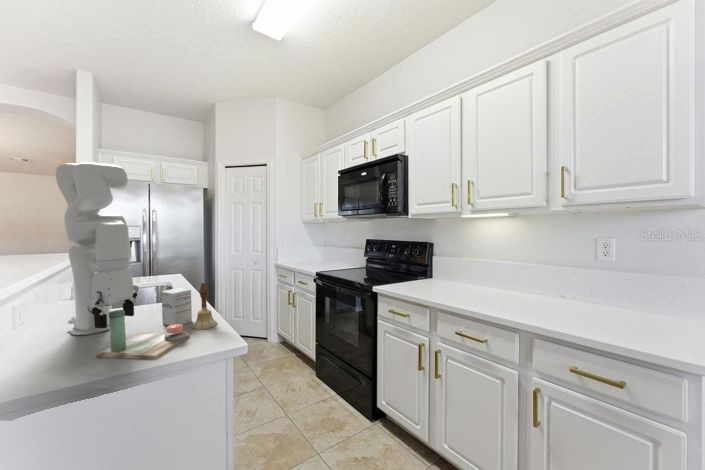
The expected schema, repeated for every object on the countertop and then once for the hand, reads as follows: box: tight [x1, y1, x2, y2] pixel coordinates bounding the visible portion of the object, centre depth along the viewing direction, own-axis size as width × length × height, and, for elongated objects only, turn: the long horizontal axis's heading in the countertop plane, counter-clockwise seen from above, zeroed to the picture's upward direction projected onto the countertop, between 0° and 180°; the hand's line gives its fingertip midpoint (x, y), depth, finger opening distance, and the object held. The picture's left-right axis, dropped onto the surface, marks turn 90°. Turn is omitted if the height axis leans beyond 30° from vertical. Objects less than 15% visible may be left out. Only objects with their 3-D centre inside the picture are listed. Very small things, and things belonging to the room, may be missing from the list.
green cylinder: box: [108, 309, 127, 352], centre depth 90 cm, size 4×4×11 cm
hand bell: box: [192, 282, 218, 330], centre depth 113 cm, size 8×8×16 cm
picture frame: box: [95, 330, 191, 360], centre depth 95 cm, size 18×16×2 cm
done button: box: [166, 324, 184, 333], centre depth 99 cm, size 5×5×1 cm
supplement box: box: [161, 287, 193, 326], centre depth 116 cm, size 7×7×13 cm
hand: (115, 321), depth 91 cm, fingers open, 9 cm apart
